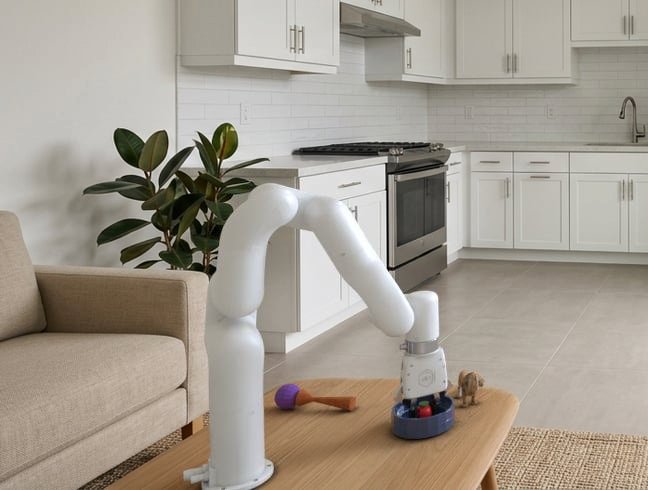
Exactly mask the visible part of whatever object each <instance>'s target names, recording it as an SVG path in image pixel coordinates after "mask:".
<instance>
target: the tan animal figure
mask: <svg viewBox="0 0 648 490" xmlns="http://www.w3.org/2000/svg"><path fill="white" fill-rule="evenodd" d="M485 383H486V379H484V378H483V377H482V376H481V375H480V373H479V372H478V371H471V372H470V371H469V370H467V369H463V370H461V371H460V372H459V374H458V380H457V395H456V399H461V398H462V406H461V407H462V408H467V407H468V401H467V400H468V399H467V396H468V397H470V403H471V404H472V405H477V404H478V401H476V395H477V392H479V390H480V388H484V385H485Z"/></svg>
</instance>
